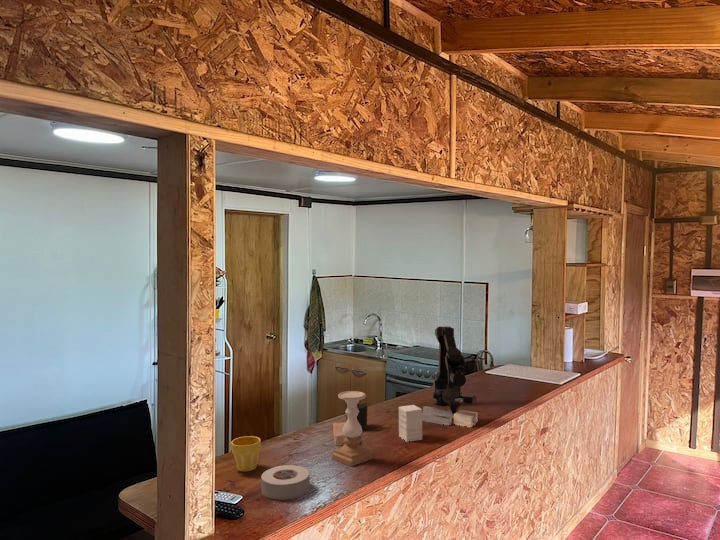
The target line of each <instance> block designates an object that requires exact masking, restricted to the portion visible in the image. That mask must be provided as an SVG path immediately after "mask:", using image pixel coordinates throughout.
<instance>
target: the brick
mask: <svg viewBox="0 0 720 540" xmlns="http://www.w3.org/2000/svg"><path fill="white" fill-rule="evenodd" d="M345 423H346V421H344V422H343V421H342V422H333V424H332V434H333V440H334V445H335V446H337V447H342V445H345V442H344V439H345V437H346V436H345V435H344V434H343V432H342V429H343V426H344V425H345Z"/></svg>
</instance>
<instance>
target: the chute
mask: <svg viewBox="0 0 720 540" xmlns="http://www.w3.org/2000/svg"><path fill="white" fill-rule="evenodd" d="M458 411H459V410H458ZM458 411H457V412H458ZM452 419H454V416H453V414H452V411H451V409H446V408H441V407H433V406H427V405H424V406H422V422H428V423H433V424H437V425H438V424H439V425H443V424H444V425H445V426H449V425H450V426H451V425H452Z"/></svg>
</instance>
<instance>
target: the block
mask: <svg viewBox="0 0 720 540" xmlns="http://www.w3.org/2000/svg"><path fill="white" fill-rule="evenodd" d="M478 417H479V413H478V411H470V410H465V409H460V410H458V412H456V413H455V414H454V418H453V425H454V424H455V425H454V426H459V425H460V427H464V426H467V427H466V428H470V427H471V428H473V427H474V426H475V425H477V424H478V423H479V422H478V421H479V420H478V419H479V418H478ZM477 422H478V423H477ZM476 423H477V424H476ZM473 425H474V426H473ZM472 426H473V427H472Z"/></svg>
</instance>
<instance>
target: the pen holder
mask: <svg viewBox="0 0 720 540" xmlns="http://www.w3.org/2000/svg"><path fill="white" fill-rule="evenodd" d="M368 406H369V405H368V403H357V408H358V410H359V413H358V415H357V420H358V422H359V424H360V425H361V427H362V431H364V430H366V429H367V427H368ZM346 409H347V403H346V404H345V410H346ZM345 418H346V419H345V422H346V421H347V419H348V416H347V415H346V414H345Z"/></svg>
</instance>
